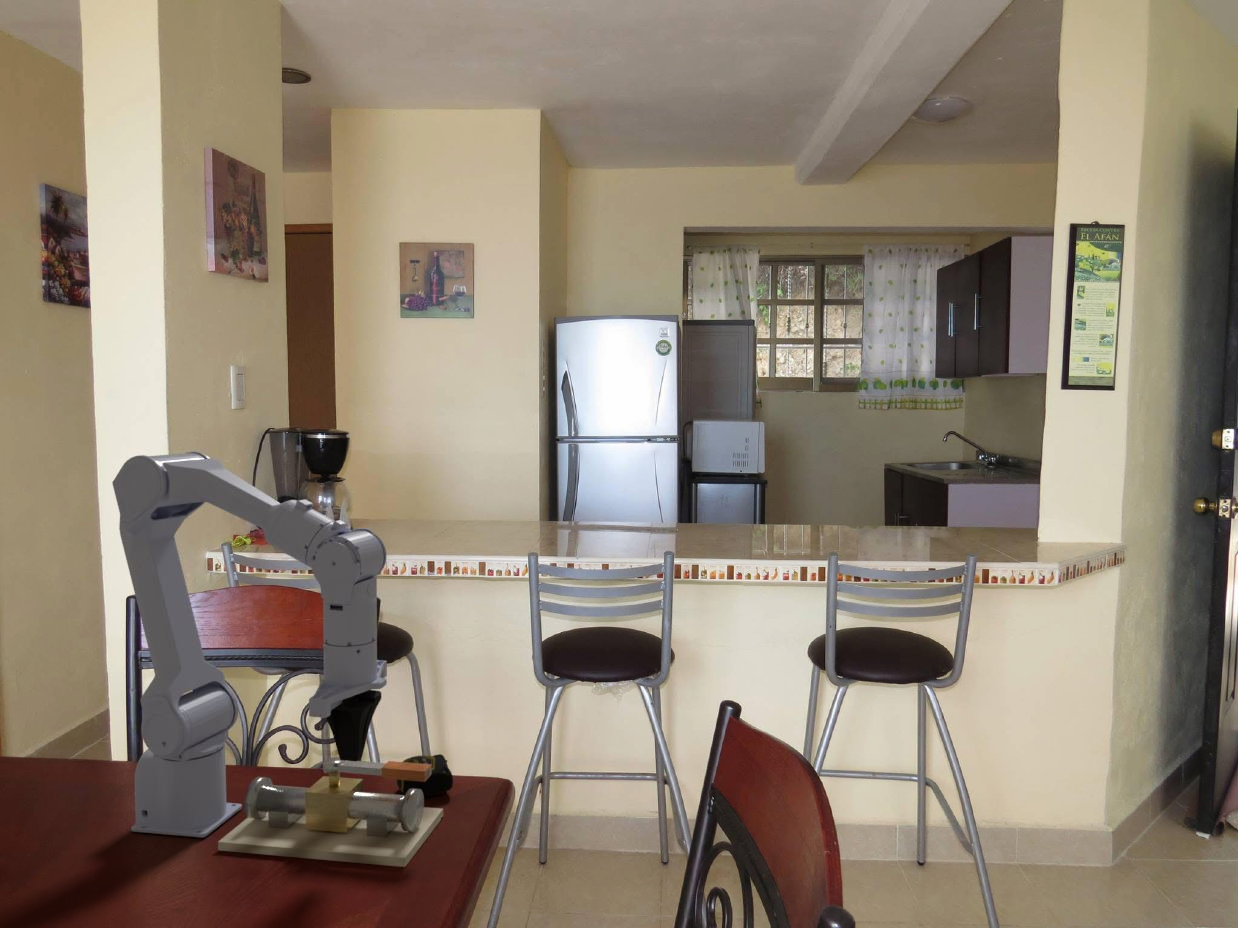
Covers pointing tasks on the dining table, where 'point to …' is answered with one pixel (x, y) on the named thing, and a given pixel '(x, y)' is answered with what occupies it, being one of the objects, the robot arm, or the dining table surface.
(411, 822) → the ball valve
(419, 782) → the tape measure
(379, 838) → the board
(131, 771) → the dining table surface
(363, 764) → the valve lever
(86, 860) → the dining table surface
